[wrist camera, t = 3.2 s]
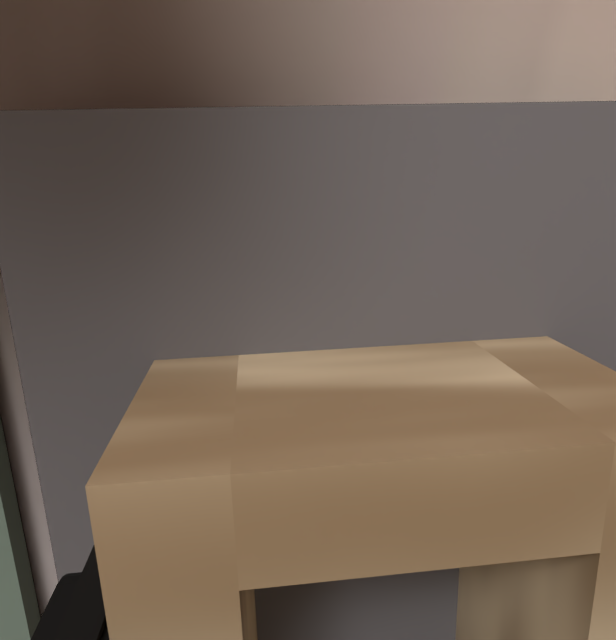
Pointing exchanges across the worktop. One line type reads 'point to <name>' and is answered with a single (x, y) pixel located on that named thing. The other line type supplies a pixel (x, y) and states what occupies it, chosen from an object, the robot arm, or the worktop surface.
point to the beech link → (363, 486)
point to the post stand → (291, 272)
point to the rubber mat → (14, 562)
